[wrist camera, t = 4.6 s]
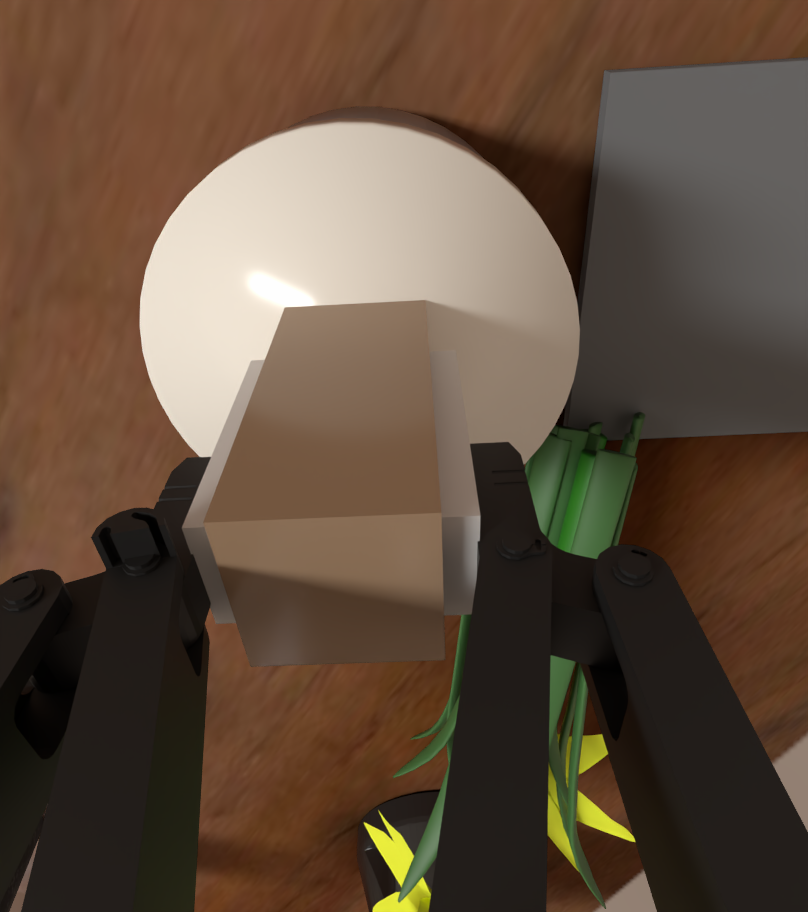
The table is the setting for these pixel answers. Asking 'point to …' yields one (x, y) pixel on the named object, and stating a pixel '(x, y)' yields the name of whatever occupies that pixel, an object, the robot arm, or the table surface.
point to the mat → (697, 253)
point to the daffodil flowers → (581, 533)
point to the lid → (350, 369)
